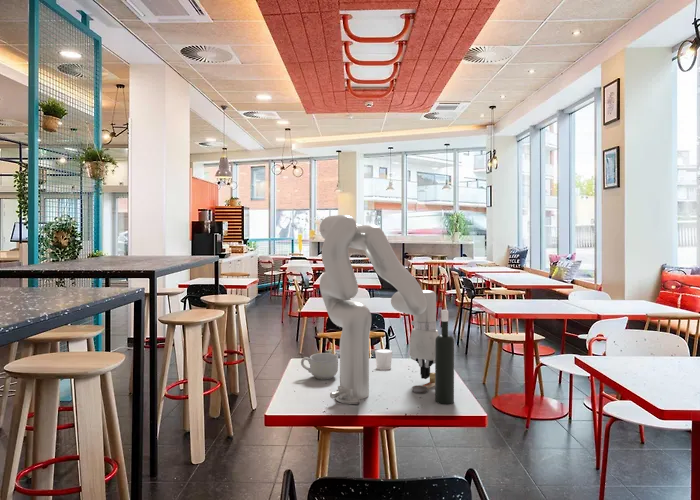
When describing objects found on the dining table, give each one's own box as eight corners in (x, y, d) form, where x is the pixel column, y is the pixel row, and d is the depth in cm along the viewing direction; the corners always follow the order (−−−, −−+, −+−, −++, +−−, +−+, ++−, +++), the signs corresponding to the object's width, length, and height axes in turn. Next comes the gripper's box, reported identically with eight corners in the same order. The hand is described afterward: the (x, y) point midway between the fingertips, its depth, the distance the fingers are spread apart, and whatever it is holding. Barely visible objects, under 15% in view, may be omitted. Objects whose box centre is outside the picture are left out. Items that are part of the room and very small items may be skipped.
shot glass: (392, 366, 206) (392, 348, 206) (392, 370, 199) (392, 352, 199) (375, 365, 207) (375, 348, 206) (374, 370, 200) (374, 352, 200)
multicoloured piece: (422, 394, 165) (422, 382, 165) (409, 391, 168) (409, 379, 168) (441, 385, 175) (441, 373, 175) (428, 382, 178) (428, 371, 178)
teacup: (340, 374, 194) (340, 353, 194) (335, 382, 184) (335, 360, 183) (305, 372, 197) (305, 352, 196) (298, 380, 186) (297, 358, 186)
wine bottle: (454, 409, 155) (454, 311, 154) (435, 408, 156) (435, 311, 155) (453, 403, 161) (453, 308, 160) (435, 402, 162) (435, 308, 161)
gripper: (401, 325, 178) (401, 377, 179) (440, 329, 169) (440, 384, 170) (411, 322, 184) (411, 372, 185) (449, 326, 176) (449, 378, 176)
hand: (425, 377), depth 177 cm, fingers closed
